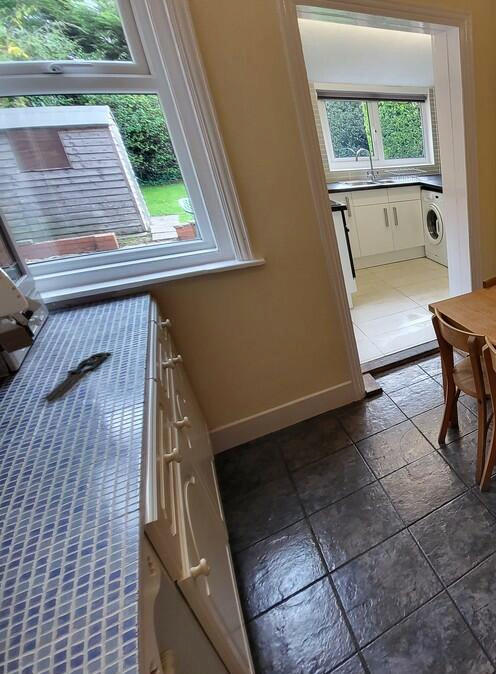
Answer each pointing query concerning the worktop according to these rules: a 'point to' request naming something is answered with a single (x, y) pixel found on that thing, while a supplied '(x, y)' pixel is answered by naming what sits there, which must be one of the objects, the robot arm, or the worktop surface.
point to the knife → (62, 392)
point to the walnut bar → (13, 337)
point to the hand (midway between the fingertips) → (14, 345)
